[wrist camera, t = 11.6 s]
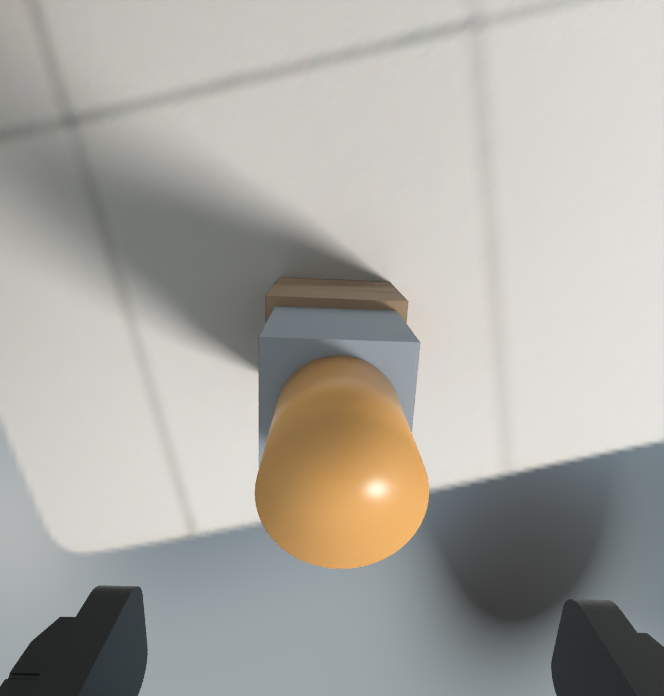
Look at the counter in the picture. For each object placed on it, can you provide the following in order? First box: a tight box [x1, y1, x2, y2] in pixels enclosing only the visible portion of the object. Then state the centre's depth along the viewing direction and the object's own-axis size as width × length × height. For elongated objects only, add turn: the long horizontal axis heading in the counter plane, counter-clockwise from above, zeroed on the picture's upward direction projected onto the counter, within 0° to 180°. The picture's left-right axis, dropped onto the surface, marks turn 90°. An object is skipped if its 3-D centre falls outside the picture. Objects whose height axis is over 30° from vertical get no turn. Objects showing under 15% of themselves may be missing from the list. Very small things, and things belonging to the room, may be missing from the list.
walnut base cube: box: [265, 277, 408, 324], centre depth 27 cm, size 7×7×7 cm
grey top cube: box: [259, 306, 420, 467], centre depth 21 cm, size 6×6×6 cm
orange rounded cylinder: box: [255, 355, 429, 569], centre depth 16 cm, size 5×5×6 cm
